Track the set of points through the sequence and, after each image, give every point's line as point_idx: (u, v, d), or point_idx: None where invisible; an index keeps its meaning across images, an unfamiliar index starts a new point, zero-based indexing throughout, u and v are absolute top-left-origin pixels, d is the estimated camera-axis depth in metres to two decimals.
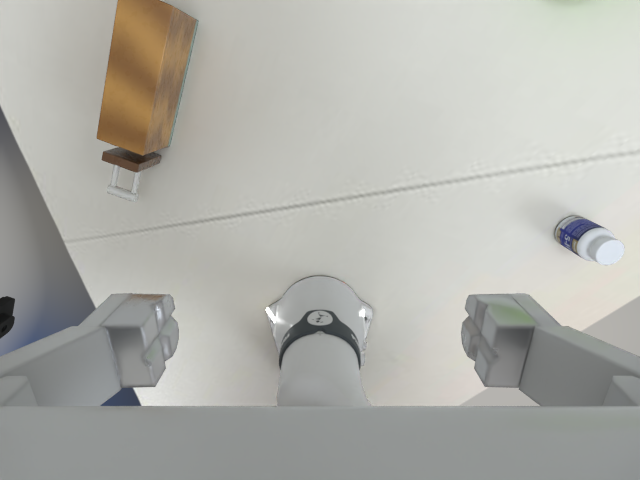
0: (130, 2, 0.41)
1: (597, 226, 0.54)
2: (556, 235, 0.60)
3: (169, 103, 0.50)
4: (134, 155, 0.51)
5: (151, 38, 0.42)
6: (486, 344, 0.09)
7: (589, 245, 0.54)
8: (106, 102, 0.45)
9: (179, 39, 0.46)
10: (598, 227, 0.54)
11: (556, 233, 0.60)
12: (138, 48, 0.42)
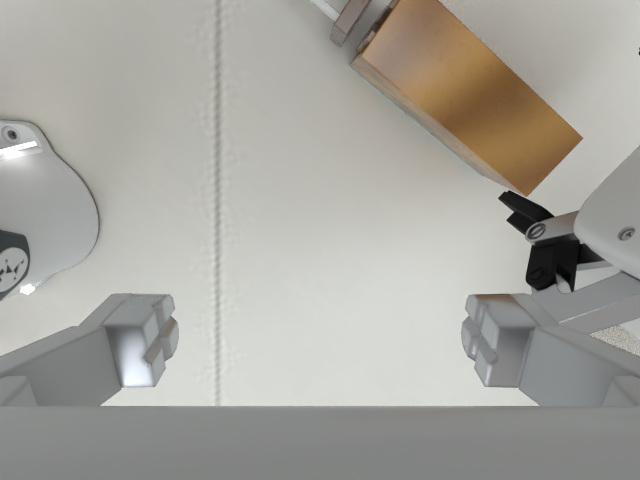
0: (558, 141, 0.29)
1: None
2: None
3: (411, 110, 0.33)
4: (359, 17, 0.29)
5: (507, 152, 0.29)
6: (486, 344, 0.09)
7: None
8: (460, 32, 0.26)
9: (481, 166, 0.33)
10: None
11: None
12: (505, 126, 0.28)
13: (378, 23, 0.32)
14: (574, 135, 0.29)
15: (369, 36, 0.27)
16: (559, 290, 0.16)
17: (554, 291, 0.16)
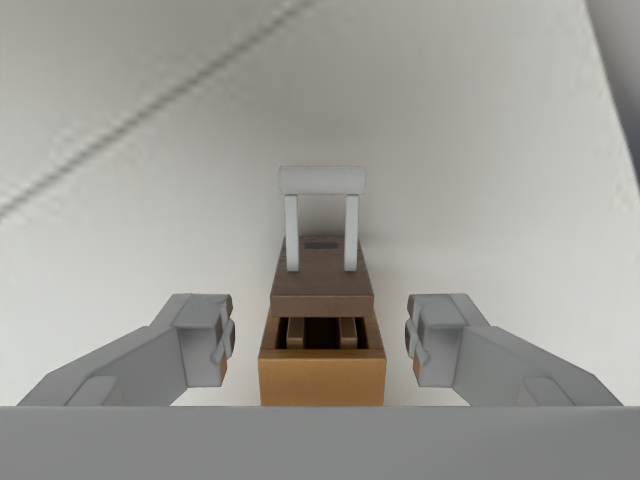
0: None
1: None
2: None
3: None
4: None
5: None
6: (422, 344, 0.09)
7: None
8: None
9: None
10: None
11: None
12: None
13: None
14: None
15: (293, 340, 0.18)
16: None
17: None
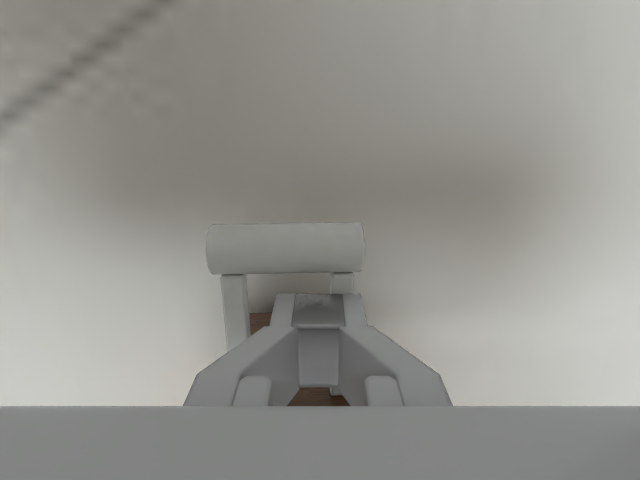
0: None
1: None
2: None
3: None
4: None
5: None
6: None
7: None
8: None
9: None
10: None
11: None
12: None
13: None
14: None
15: None
16: None
17: None
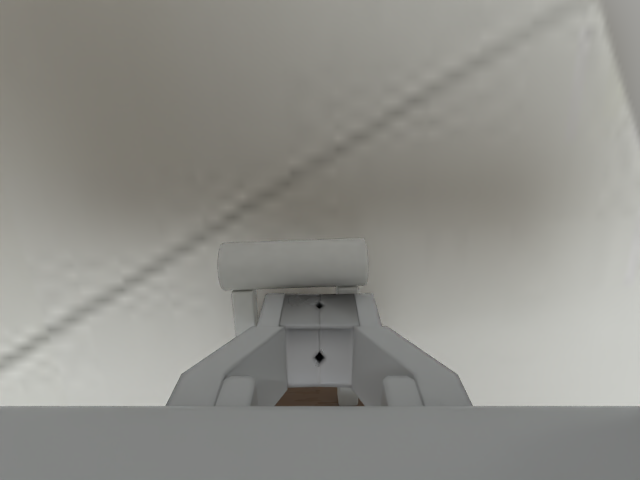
0: None
1: None
2: None
3: None
4: None
5: None
6: None
7: None
8: None
9: None
10: None
11: None
12: None
13: None
14: None
15: None
16: None
17: None
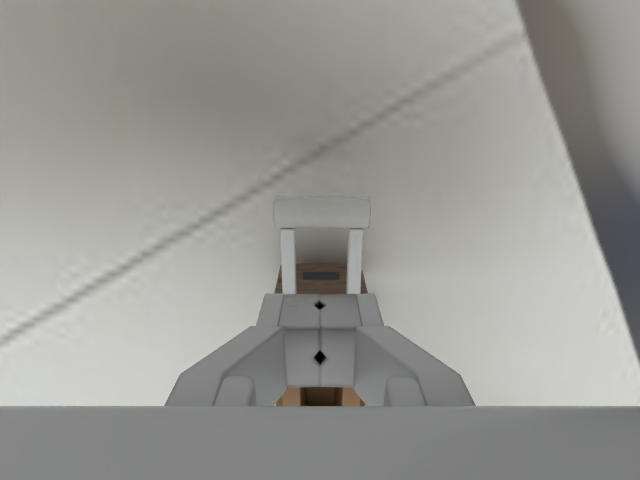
0: None
1: None
2: None
3: None
4: None
5: None
6: None
7: None
8: None
9: None
10: None
11: None
12: None
13: None
14: None
15: (289, 389, 0.16)
16: None
17: None
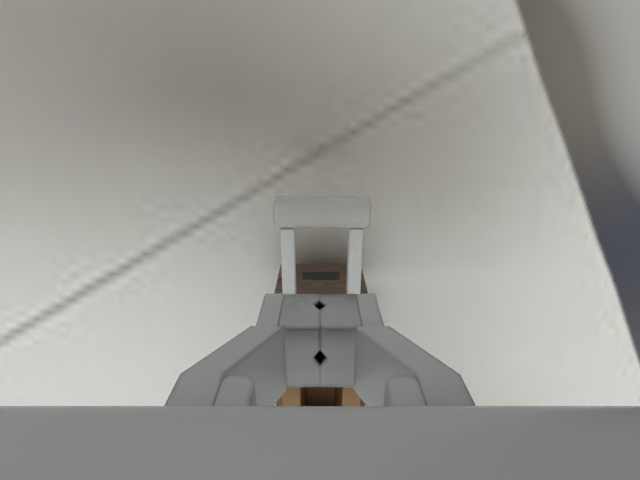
0: None
1: None
2: None
3: None
4: None
5: None
6: None
7: None
8: None
9: None
10: None
11: None
12: None
13: None
14: None
15: (289, 389, 0.16)
16: None
17: None
